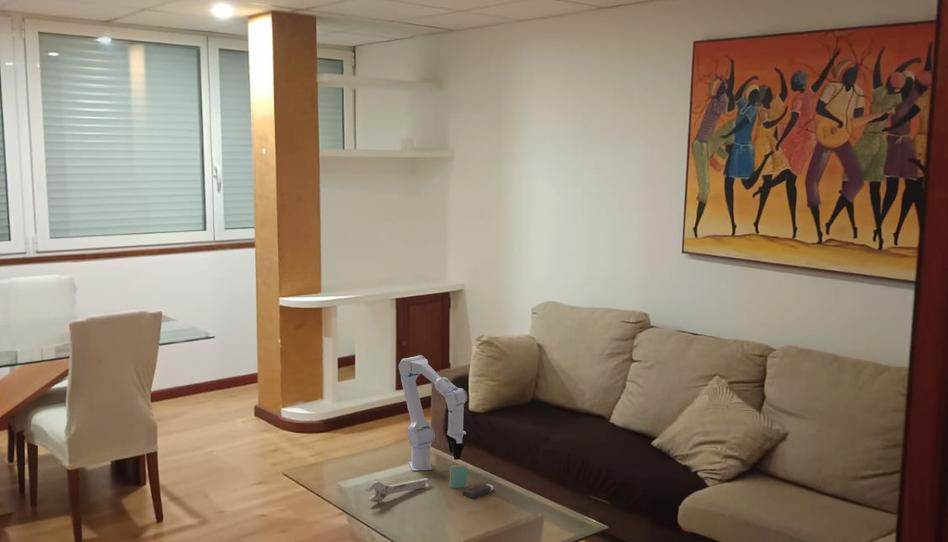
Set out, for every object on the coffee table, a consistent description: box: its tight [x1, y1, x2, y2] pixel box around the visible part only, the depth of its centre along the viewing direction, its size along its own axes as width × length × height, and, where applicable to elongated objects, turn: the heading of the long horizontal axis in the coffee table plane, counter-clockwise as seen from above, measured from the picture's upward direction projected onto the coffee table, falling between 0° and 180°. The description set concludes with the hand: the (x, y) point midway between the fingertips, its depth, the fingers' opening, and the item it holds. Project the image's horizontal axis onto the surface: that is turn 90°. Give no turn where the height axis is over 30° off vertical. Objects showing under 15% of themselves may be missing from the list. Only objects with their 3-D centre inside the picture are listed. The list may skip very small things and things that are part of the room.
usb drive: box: [462, 483, 495, 500], centre depth 297 cm, size 5×12×3 cm, turn 136°
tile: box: [449, 464, 468, 489], centre depth 303 cm, size 2×6×8 cm, turn 104°
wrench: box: [365, 477, 432, 504], centre depth 293 cm, size 8×2×30 cm
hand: (454, 455), depth 309 cm, fingers open, 7 cm apart
